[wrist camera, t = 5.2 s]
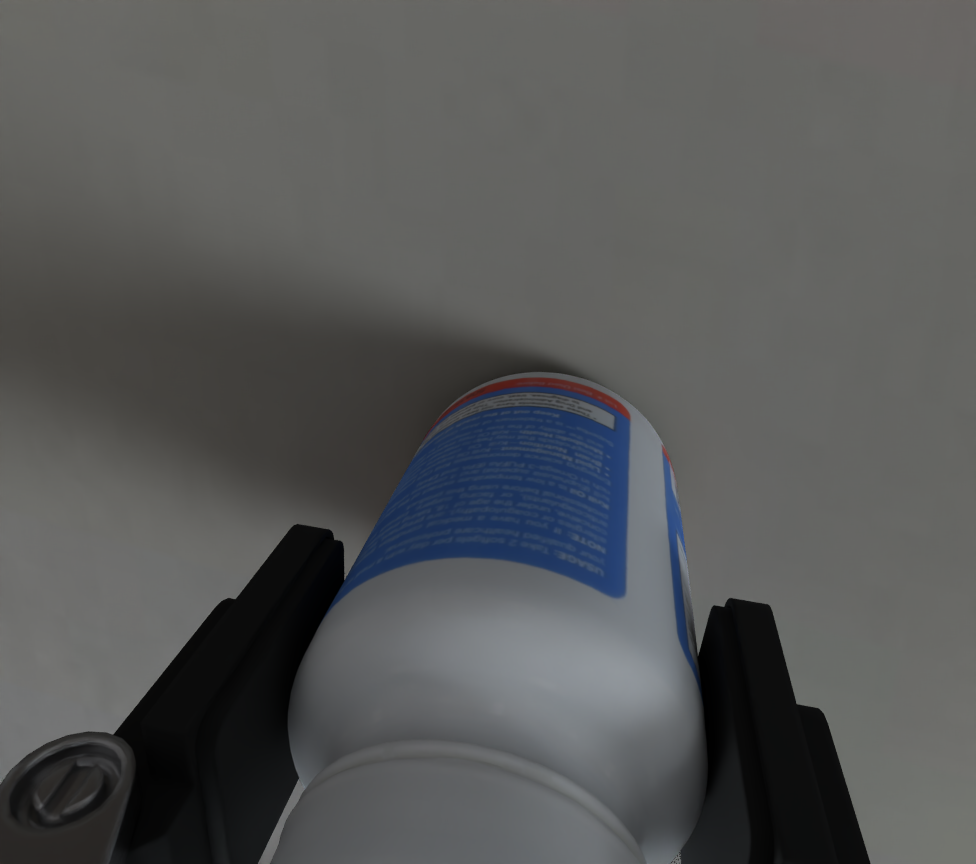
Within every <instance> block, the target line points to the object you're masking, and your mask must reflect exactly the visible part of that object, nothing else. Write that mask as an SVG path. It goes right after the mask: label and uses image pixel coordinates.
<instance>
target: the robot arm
mask: <svg viewBox="0 0 976 864" xmlns="http://www.w3.org/2000/svg"><path fill="white" fill-rule="evenodd" d="M343 582H344V546H343V543H342V542H341V541H338V540H334V535H333V533H332V531H331V530H329V529H323V528H317V527H311V526H306V525H300V524H296V525H294V526H293V527H292V528H291V529H290V530H289V531H288V532H287V534H286V535H285V536H284V538H283V539H282V540H281V541H280V543H279V544H278V545H277V547H276V548H275V549H274V551H273V552H272V553H271V554H270V556H269V557H268V558H267V560H266V561H265V562H264V563H263V565H262V566H261V567H260V569H259V570H258V571H257V572H256V574H255V575H254V576H253V578H252V579H251V580H250V582H249V583H248V584H247V585H246V587H245V588H244V589H243V591H242V592H241V593H240V594H239V596H238V597H237V598H236V599H231V598H227V599H225V600H223V601H221V602H220V603H219V604H218V605H217V606H216V607H215V608H214V610H213V611H212V612H211V613H210V615H209V616H208V617H207V618H206V620H205V621H204V622H203V623H202V625H201V626H200V627H199V628H198V630H197V631H196V632H195V633H194V635H193V636H192V637H191V638H190V640H189V641H188V642H187V643H186V645H185V646H184V647H183V648H182V650H181V651H180V652H179V653H178V655H177V656H176V657H175V658H174V660H173V661H172V662H171V663H170V665H169V666H168V667H167V668H166V670H165V671H164V672H163V673H162V675H161V676H160V677H159V678H158V680H157V681H156V682H155V683H154V685H153V686H152V687H151V688H150V690H149V691H148V692H147V693H146V695H145V696H144V697H143V698H142V700H141V701H140V702H139V703H138V705H137V706H136V707H135V708H134V710H133V711H132V712H131V713H130V715H129V716H128V717H127V718H126V720H125V721H124V722H123V723H122V724H121V726H120V727H119V728H118V729H117V731H116V732H115V733H114V734H113V735H112V734H109V733H106V732H89V731H88V732H83V733H77V734H71V735H67V736H64V737H62V738H59V739H56V740H54V741H51V742H49V743H46V744H45V745H43V746H41V747H40V748H38V749H36V750H35V751H33V752H32V753H30V754H28V755H27V756H26V757H25V758H23V759H22V760H21V761H20V762H19V763H18V764H17V765H16V766H15V767H14V768H12V769H11V770H10V771H9V773H8V774H7V776H6V777H5V779H4V780H3V782H2V783H1V784H0V864H258V862H259V860H260V858H261V856H262V854H263V852H264V850H265V848H266V845H267V843H268V841H269V839H270V837H271V835H272V833H273V831H274V829H275V827H276V825H277V823H278V821H279V819H280V816H281V814H282V812H283V810H284V808H285V806H286V804H287V802H288V800H289V798H290V796H291V794H292V792H293V790H294V787H295V785H296V783H297V781H298V779H299V776H298V773H297V771H296V769H295V765H294V761H293V758H292V754H291V749H290V743H289V734H288V708H289V701H290V694H291V690H292V686H293V683H294V679H295V676H296V673H297V670H298V667H299V665H300V663H301V661H302V659H303V656H304V654H305V652H306V650H307V648H308V647H309V645H310V643H311V641H312V639H313V637H314V635H315V633H316V631H317V629H318V627H319V625H320V623H321V621H322V619H323V618H324V616H325V614H326V612H327V611H328V609H329V607H330V605H331V603H332V602H333V600H334V598H335V596H336V595H337V593H338V591H339V589H340V588H341V586H342V584H343ZM698 661H699V669H700V679H701V687H702V697H703V704H704V716H705V729H706V740H707V755H708V780H707V788H706V795H705V799H704V803H703V807H702V811H701V814H700V816H699V819H698V821H697V824H696V826H695V828H694V830H693V832H692V834H691V836H690V838H689V839H688V841H687V842H686V844H685V845H684V847H683V848H682V849H681V864H870V861H869V857H868V854H867V851H866V847H865V844H864V841H863V838H862V834H861V831H860V828H859V824H858V821H857V818H856V815H855V811H854V808H853V805H852V801H851V798H850V795H849V792H848V788H847V785H846V782H845V778H844V775H843V772H842V768H841V765H840V762H839V759H838V755H837V752H836V749H835V745H834V742H833V739H832V736H831V732H830V729H829V726H828V723H827V720H826V718H825V716H824V713H823V712H822V711H821V710H820V709H819V708H814V707H808V706H803V705H798V704H796V700H795V696H794V692H793V688H792V685H791V681H790V677H789V673H788V669H787V666H786V662H785V658H784V654H783V650H782V647H781V643H780V639H779V635H778V631H777V628H776V624H775V620H774V616H773V612H772V610H771V607H770V606H769V605H768V604H762V603H756V602H750V601H745V600H739V599H733V598H729V599H728V600H727V602H726V604H725V607H721V606H715V605H714V606H713V607H712V609H711V611H710V615H709V618H708V622H707V626H706V629H705V633H704V637H703V641H702V644H701V648H700V652H699V655H698Z"/></svg>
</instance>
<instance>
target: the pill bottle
mask: <svg viewBox="0 0 976 864" xmlns="http://www.w3.org/2000/svg"><path fill="white" fill-rule="evenodd" d="M288 734H289V743H290V749H291V754H292V758H293V761H294V765H295V769H296V771H297V773H298V776H299V778H300V781H301V783H302V785H303V787H304V789H305V790H304V792H303V793H302V795H301V797H300V799H299V801H298V803H297V805H296V806H295V807H294V809H293V810H292V812H291V813H290V815H289V816H288V818H287V820H286V822H285V825H284V828H283V830H282V833H281V837H280V841H279V845H278V847H277V849H276V852H275V854H274V856H273V859H272V861H271V863H270V864H670V863H671V862H672V861H673V860H674V858H675V857H676V856H677V855H678V853H679V852H680V851H681V849H682V848H683V847H684V845H685V844H686V842H687V841H688V839H689V838H690V836H691V834H692V832H693V830H694V828H695V826H696V824H697V821H698V819H699V816H700V814H701V811H702V807H703V803H704V799H705V795H706V788H707V780H708V755H707V740H706V729H705V716H704V704H703V697H702V687H701V679H700V669H699V661H698V653H697V644H696V636H695V627H694V618H693V609H692V600H691V591H690V582H689V573H688V566H687V559H686V551H685V543H684V536H683V528H682V518H681V508H680V503H679V496H678V489H677V483H676V479H675V474H674V470H673V467H672V464H671V461H670V458H669V456H668V453H667V451H666V448H665V446H664V445H663V443H662V441H661V439H660V437H659V436H658V434H657V432H656V431H655V430H654V428H653V427H652V425H651V424H650V423H649V422H648V420H647V419H646V418H645V417H644V416H643V415H642V414H641V413H640V412H639V411H638V410H637V409H636V408H635V407H634V406H632V405H631V404H630V403H629V402H628V401H626V400H625V399H623V398H622V397H620V396H619V395H617V394H616V393H614V392H612V391H611V390H609V389H607V388H605V387H603V386H601V385H599V384H597V383H594V382H592V381H589V380H586V379H583V378H579V377H575V376H571V375H566V374H560V373H550V372H528V373H520V374H513V375H508V376H504V377H500V378H497V379H494V380H491V381H489V382H486V383H484V384H482V385H480V386H477V387H475V388H474V389H472V390H470V391H469V392H467V393H465V394H464V395H462V396H461V397H459V398H458V399H457V400H456V401H454V402H453V403H452V404H451V405H450V406H449V407H448V408H447V409H446V410H445V411H444V412H443V413H442V414H441V416H440V417H439V418H438V419H437V420H436V422H435V423H434V425H433V426H432V427H431V429H430V430H429V431H428V433H427V434H426V436H425V438H424V440H423V441H422V443H421V445H420V447H419V449H418V451H417V452H416V454H415V456H414V458H413V459H412V461H411V463H410V465H409V467H408V468H407V470H406V472H405V474H404V475H403V477H402V479H401V481H400V482H399V484H398V486H397V488H396V490H395V491H394V493H393V495H392V496H391V498H390V500H389V502H388V504H387V505H386V507H385V509H384V511H383V513H382V514H381V516H380V518H379V520H378V522H377V523H376V525H375V527H374V529H373V530H372V532H371V534H370V536H369V538H368V539H367V541H366V543H365V545H364V547H363V548H362V550H361V552H360V554H359V556H358V557H357V559H356V561H355V563H354V565H353V566H352V568H351V570H350V572H349V573H348V575H347V577H346V579H345V580H344V582H343V584H342V586H341V588H340V589H339V591H338V593H337V595H336V596H335V598H334V600H333V602H332V603H331V605H330V607H329V609H328V611H327V612H326V614H325V616H324V618H323V619H322V621H321V623H320V625H319V627H318V629H317V631H316V633H315V635H314V637H313V639H312V641H311V643H310V645H309V647H308V648H307V650H306V652H305V654H304V656H303V659H302V661H301V663H300V665H299V667H298V670H297V673H296V676H295V679H294V683H293V686H292V690H291V694H290V701H289V708H288Z"/></svg>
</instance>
